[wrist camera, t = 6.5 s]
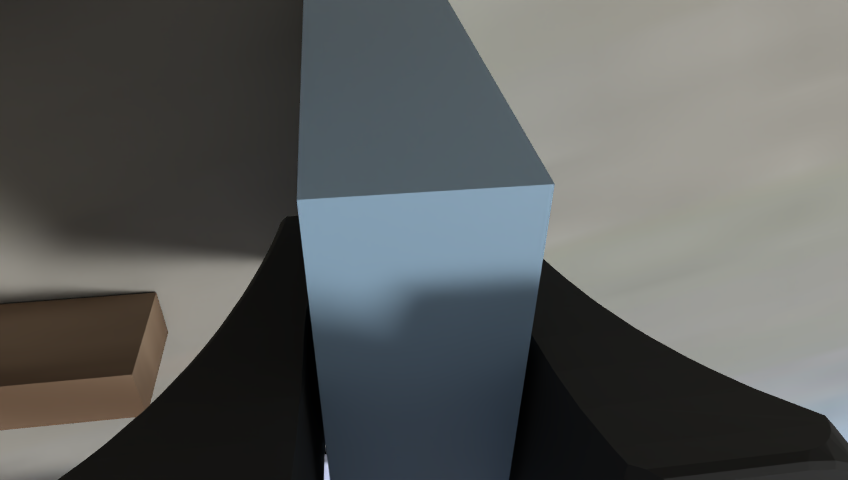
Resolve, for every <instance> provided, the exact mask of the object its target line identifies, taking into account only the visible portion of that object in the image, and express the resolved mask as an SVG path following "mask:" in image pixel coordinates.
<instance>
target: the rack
mask: <svg viewBox="0 0 848 480" xmlns="http://www.w3.org/2000/svg"><path fill="white" fill-rule="evenodd" d="M167 334H168V331H167V327H166V324H165V320H164V317H163V314H162V310H161V307H160V304H159V300H158V297H157V294H156V293H143V294H130V295H116V296H103V297H90V298H77V299H64V300H51V301H37V302H24V303H11V304H0V430H8V429H18V428H28V427H38V426H49V425H59V424H69V423H79V422H89V421H100V420H110V419H120V418H130V417H137V416H138V415H139V414H141V413H142V412H143V411H144V410H145V409H146V408H147V407H148V406H149V405H150V402H151V398H152V394H153V390H154V386H155V382H156V378H157V374H158V370H159V366H160V362H161V358H162V354H163V350H164V346H165V342H166V338H167Z"/></svg>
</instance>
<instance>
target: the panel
mask: <svg viewBox="0 0 848 480" xmlns="http://www.w3.org/2000/svg"><path fill="white" fill-rule="evenodd" d="M554 185H555V184H554V182H553V181H552V179H551V177H550V175H549V174H548V172H547V170H546V169H545V167H544V165H543V163H542V162H541V160H540V158H539V157H538V155H537V153H536V151H535V150H534V148H533V146H532V144H531V143H530V141H529V139H528V138H527V136H526V134H525V132H524V131H523V129H522V127H521V126H520V124H519V122H518V120H517V119H516V117H515V115H514V113H513V112H512V110H511V108H510V107H509V105H508V103H507V101H506V100H505V98H504V96H503V95H502V93H501V91H500V89H499V88H498V86H497V84H496V82H495V81H494V79H493V77H492V76H491V74H490V72H489V70H488V69H487V67H486V65H485V64H484V62H483V60H482V58H481V57H480V55H479V53H478V51H477V50H476V48H475V46H474V45H473V43H472V41H471V39H470V38H469V36H468V34H467V33H466V31H465V29H464V27H463V26H462V24H461V22H460V20H459V19H458V17H457V15H456V14H455V12H454V10H453V8H452V7H451V5H450V3H449V2H448V0H303V30H302V59H301V89H300V119H299V149H298V178H297V206H298V215H299V223H300V232H301V240H302V248H303V257H304V265H305V274H306V282H307V291H308V299H309V308H310V316H311V325H312V333H313V342H314V350H315V359H316V367H317V376H318V384H319V393H320V401H321V410H322V418H323V427H324V435H325V443H326V452H327V460H328V469H329V477H330V480H509V475H510V469H511V462H512V456H513V450H514V443H515V437H516V430H517V424H518V417H519V411H520V404H521V398H522V391H523V385H524V378H525V372H526V366H527V359H528V353H529V346H530V340H531V333H532V327H533V320H534V314H535V307H536V301H537V295H538V288H539V282H540V275H541V269H542V262H543V256H544V249H545V243H546V236H547V230H548V223H549V217H550V211H551V204H552V198H553V191H554Z"/></svg>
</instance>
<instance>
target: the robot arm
mask: <svg viewBox="0 0 848 480" xmlns="http://www.w3.org/2000/svg"><path fill="white" fill-rule="evenodd" d="M58 480H330V477H329V469H328V460H327V454H326V455H325V435H324V427H323V418H322V410H321V401H320V393H319V384H318V376H317V367H316V359H315V350H314V342H313V333H312V325H311V316H310V308H309V299H308V291H307V282H306V274H305V265H304V257H303V248H302V240H301V232H300V223H299V216H289V217H286V218H285V219H284V220H283V221H282V222H281V224H280V227H279V229H278V232H277V234H276V236H275V238H274V241H273V243H272V245H271V247H270V249H269V251H268V253H267V254H266V256H265V258H264V260H263V262H262V264H261V266H260V267H259V269H258V271H257V272H256V274H255V276H254V277H253V279H252V281H251V282H250V284H249V286H248V287H247V289H246V291H245V292H244V294H243V295H242V297H241V298H240V300H239V301H238V302H237V304H236V305H235V307H234V308H233V310H232V311H231V313H230V314H229V315H228V317H227V318H226V320H225V321H224V323H223V324H222V325H221V327H220V328H219V329H218V331H217V332H216V333H215V334H214V336H213V337H212V338H211V339H210V341H209V342H208V343H207V344H206V346H205V347H204V348H203V349H202V350H201V352H200V353H199V354H198V355H197V356H196V357H195V359H194V360H193V361H192V362H191V363H190V364H189V365H188V367H187V368H186V369H185V370H184V371H183V372H182V373H181V374H180V375H179V376H178V377H177V378H176V379H175V380H174V381H173V382H172V383H171V384H170V385H169V386H168V388H167V389H166V390H165V391H164V392H163V393H162V394H161V395H160V396H159V397H158V398H157V399H156V400H155V401H154V402H152V403H151V404H150V405H149V406H148V407H147V408H146V409H145V410H144V411H143V412H142V413H141V414H139V415H138V416H137V417H136V418H135V419H134V420H133V421H131V422H130V423H129V424H128V425H127V426H126V427H125V428H123V429H122V430H121V431H120V432H119V433H118V434H116V435H115V436H114V437H113V438H112V439H111V440H110V441H108V442H107V443H106V444H105V445H103V446H102V447H101V448H100V449H98V450H97V451H96V452H95V453H93V454H92V455H91V456H90V457H88V458H87V459H86V460H84V461H83V462H82V463H80V464H79V465H77V466H76V467H75V468H73V469H72V470H71V471H69V472H68V473H66V474H65V475H64V476H62V477H61V478H59V479H58ZM509 480H848V443H847V441H846V440H845V439H844V438H843V436H842V435H841V434H840V433H839V431H838V430H837V429H836V428H835V426H834V425H833V424H832V423H831V422H830V421H829V420H828V418H827V417H826V416H825V415H822V414H819V413H817V412H814V411H812V410H809V409H806V408H804V407H801V406H798V405H796V404H793V403H791V402H788V401H785V400H783V399H780V398H777V397H775V396H772V395H770V394H767V393H764V392H762V391H759V390H756V389H754V388H752V387H749V386H747V385H745V384H743V383H740V382H738V381H736V380H734V379H732V378H729V377H727V376H725V375H723V374H721V373H718V372H716V371H714V370H712V369H710V368H708V367H706V366H704V365H702V364H700V363H698V362H696V361H693V360H691V359H689V358H687V357H686V356H684V355H682V354H680V353H678V352H676V351H675V350H673V349H671V348H669V347H667V346H665V345H664V344H662V343H660V342H658V341H656V340H655V339H653V338H651V337H649V336H648V335H646V334H644V333H643V332H641V331H639V330H638V329H636V328H634V327H633V326H631V325H630V324H628V323H627V322H625V321H624V320H622V319H621V318H619V317H618V316H616V315H615V314H613V313H612V312H610V311H609V310H607V309H606V308H604V307H603V306H601V305H600V304H598V303H597V302H596V301H594V300H593V299H592V298H590V297H589V296H588V295H586V294H585V293H584V292H582V291H581V290H580V289H579V288H577V287H576V286H575V285H574V284H572V283H571V282H570V281H568V280H567V279H566V278H565V277H563V276H562V275H561V274H560V273H559V272H558V271H556V270H555V269H554V268H553V267H552V266H551V265H550V264H548V263H547V262H546V261H545V260H544V259H543V262H542V269H541V275H540V282H539V288H538V295H537V301H536V307H535V314H534V320H533V327H532V333H531V340H530V346H529V353H528V359H527V366H526V372H525V378H524V385H523V391H522V398H521V404H520V411H519V417H518V424H517V430H516V437H515V443H514V450H513V456H512V462H511V469H510V475H509Z"/></svg>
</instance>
